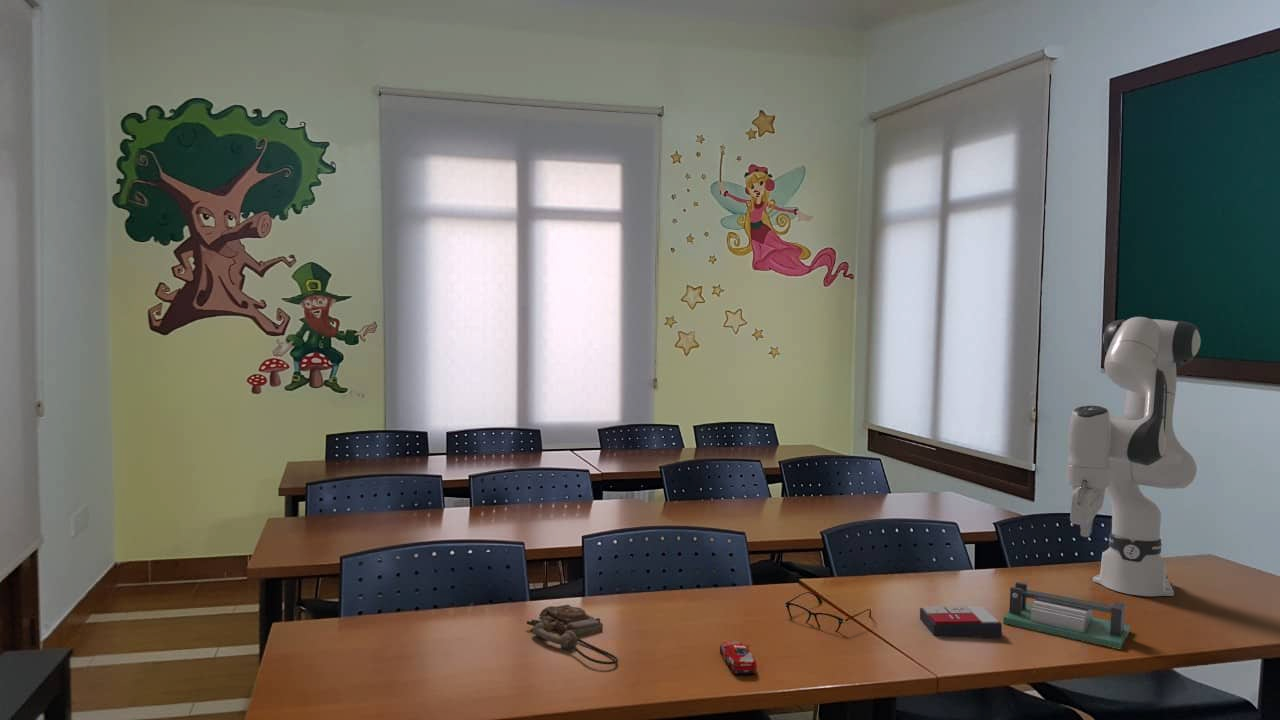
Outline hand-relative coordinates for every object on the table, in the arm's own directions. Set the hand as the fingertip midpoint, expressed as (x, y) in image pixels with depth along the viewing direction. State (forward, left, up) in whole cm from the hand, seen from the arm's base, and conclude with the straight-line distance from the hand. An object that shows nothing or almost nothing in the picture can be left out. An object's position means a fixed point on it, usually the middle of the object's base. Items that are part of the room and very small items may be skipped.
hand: (1085, 535), depth 197 cm
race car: (+72, -50, -22) cm, 90 cm away
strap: (+5, -3, -15) cm, 16 cm away
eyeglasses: (+35, -47, -22) cm, 63 cm away
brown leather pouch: (+83, -84, -22) cm, 120 cm away
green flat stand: (+5, -2, -21) cm, 22 cm away
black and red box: (+22, -21, -22) cm, 37 cm away
